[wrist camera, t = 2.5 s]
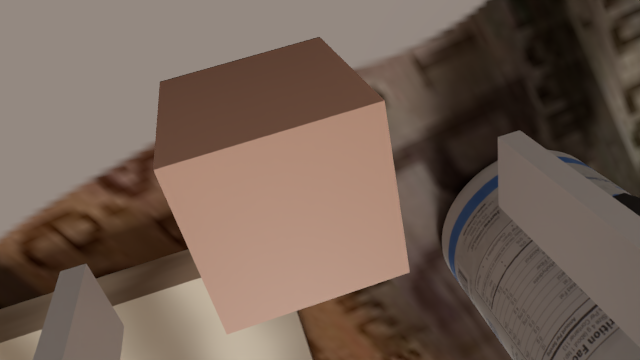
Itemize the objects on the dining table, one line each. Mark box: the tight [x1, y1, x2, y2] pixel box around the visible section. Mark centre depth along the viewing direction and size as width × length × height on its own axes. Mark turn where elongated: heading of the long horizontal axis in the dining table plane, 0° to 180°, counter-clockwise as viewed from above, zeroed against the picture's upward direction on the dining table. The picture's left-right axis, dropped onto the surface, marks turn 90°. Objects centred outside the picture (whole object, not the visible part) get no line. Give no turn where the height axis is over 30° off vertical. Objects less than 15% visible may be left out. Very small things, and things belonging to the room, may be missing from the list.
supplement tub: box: [442, 150, 640, 360], centre depth 23 cm, size 10×10×15 cm
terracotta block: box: [153, 37, 410, 334], centre depth 20 cm, size 7×7×8 cm
